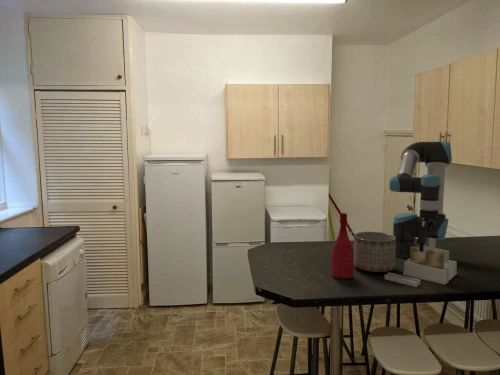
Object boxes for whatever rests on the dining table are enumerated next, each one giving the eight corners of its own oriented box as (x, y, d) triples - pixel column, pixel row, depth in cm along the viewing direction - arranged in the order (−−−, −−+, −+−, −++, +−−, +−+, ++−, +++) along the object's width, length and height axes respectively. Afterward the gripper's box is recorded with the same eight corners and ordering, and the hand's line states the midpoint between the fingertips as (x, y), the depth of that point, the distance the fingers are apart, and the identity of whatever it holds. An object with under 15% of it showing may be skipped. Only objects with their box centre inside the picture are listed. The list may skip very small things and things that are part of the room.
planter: (377, 278, 162) (378, 243, 160) (345, 266, 179) (346, 234, 177) (403, 270, 173) (404, 237, 171) (370, 259, 189) (371, 229, 187)
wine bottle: (349, 281, 159) (351, 216, 155) (328, 277, 164) (329, 214, 161) (355, 274, 167) (357, 212, 164) (335, 271, 172) (336, 210, 169)
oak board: (409, 271, 167) (410, 247, 165) (410, 271, 168) (411, 246, 167) (442, 279, 157) (443, 253, 156) (443, 278, 158) (444, 252, 157)
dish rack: (403, 274, 167) (404, 251, 165) (416, 265, 179) (417, 243, 178) (444, 284, 154) (446, 259, 153) (456, 273, 167) (457, 250, 166)
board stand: (384, 279, 161) (384, 274, 161) (388, 276, 165) (388, 272, 164) (416, 287, 152) (416, 282, 151) (420, 284, 155) (420, 279, 155)
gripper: (428, 214, 148) (426, 263, 150) (446, 206, 165) (444, 250, 168) (410, 212, 153) (408, 259, 155) (429, 204, 170) (427, 247, 173)
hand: (426, 255), depth 161 cm, fingers open, 13 cm apart
